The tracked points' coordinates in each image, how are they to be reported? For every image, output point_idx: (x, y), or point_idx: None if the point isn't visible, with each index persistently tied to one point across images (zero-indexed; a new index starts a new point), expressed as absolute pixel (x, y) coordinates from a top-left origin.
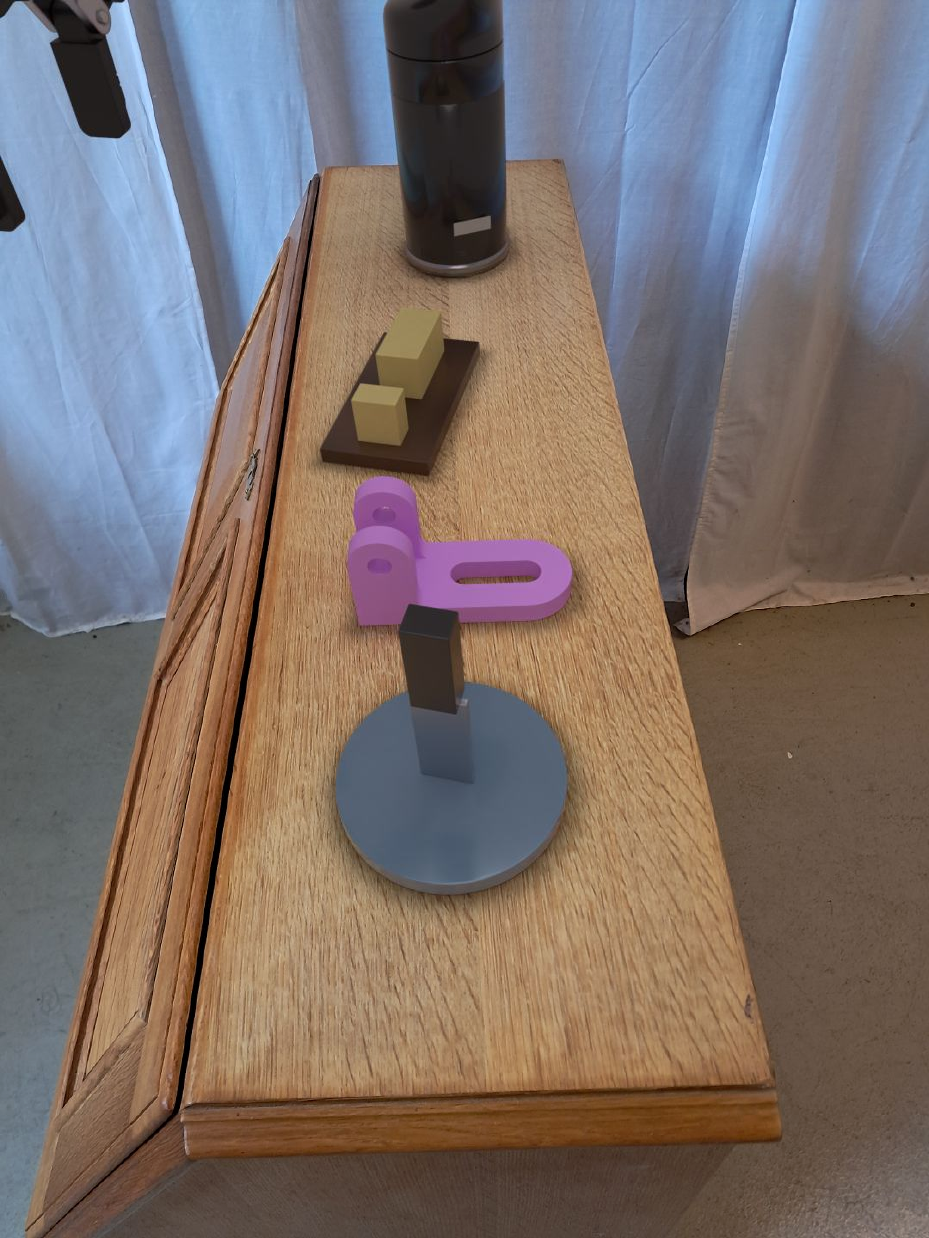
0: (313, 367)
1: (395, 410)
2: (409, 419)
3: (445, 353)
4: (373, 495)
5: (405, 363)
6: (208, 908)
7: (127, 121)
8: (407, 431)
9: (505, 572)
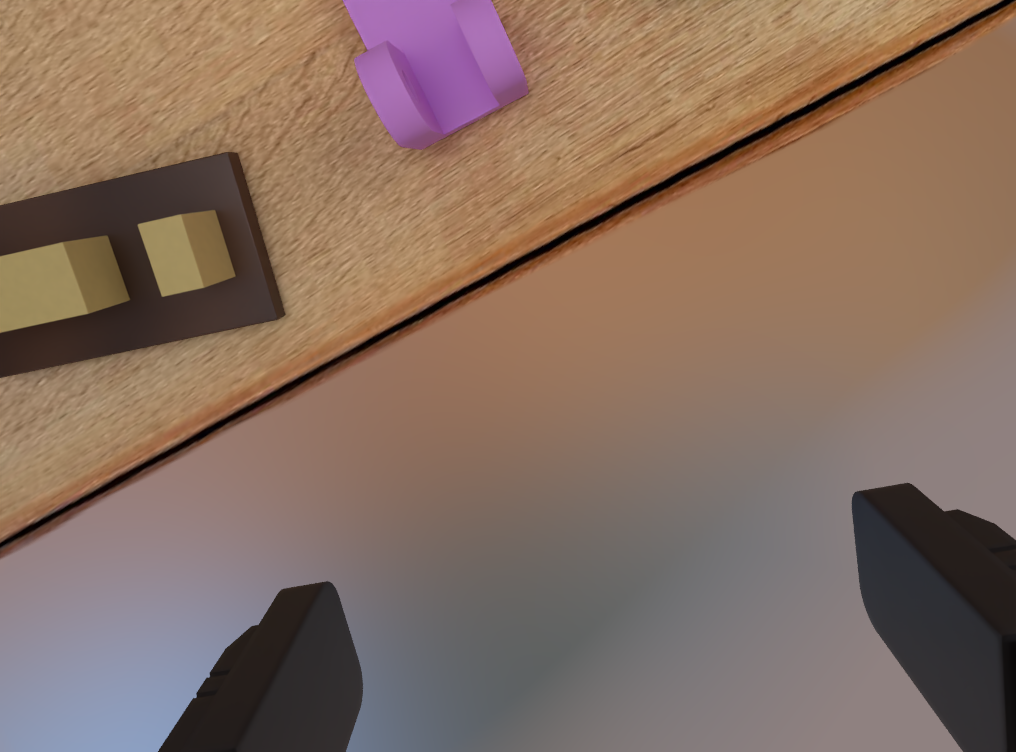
0: (117, 442)
1: (185, 214)
2: None
3: None
4: (408, 93)
5: (76, 262)
6: (951, 31)
7: (289, 594)
8: None
9: None
